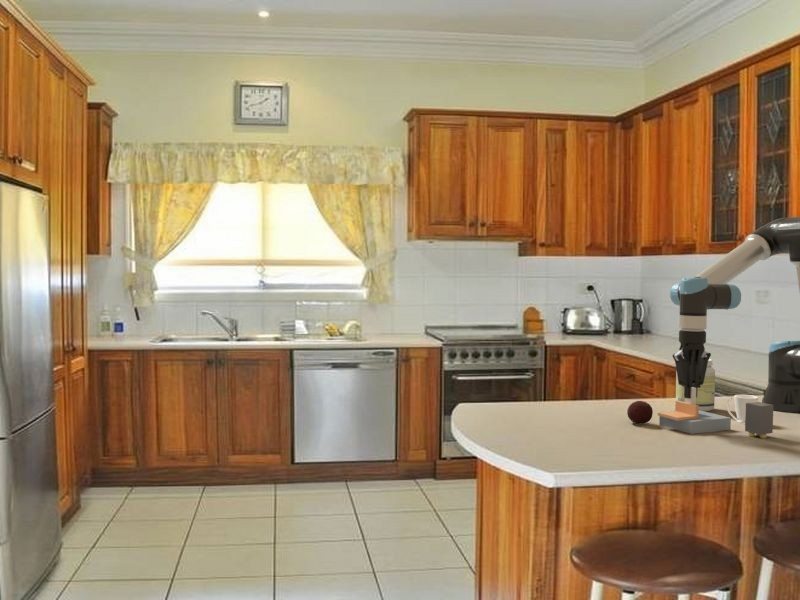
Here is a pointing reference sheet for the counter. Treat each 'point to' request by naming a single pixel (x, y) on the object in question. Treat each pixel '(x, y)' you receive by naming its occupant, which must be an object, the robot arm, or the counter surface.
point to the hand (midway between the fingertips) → (690, 408)
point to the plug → (759, 419)
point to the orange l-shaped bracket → (682, 411)
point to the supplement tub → (701, 390)
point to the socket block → (698, 423)
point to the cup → (741, 406)
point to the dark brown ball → (640, 412)
